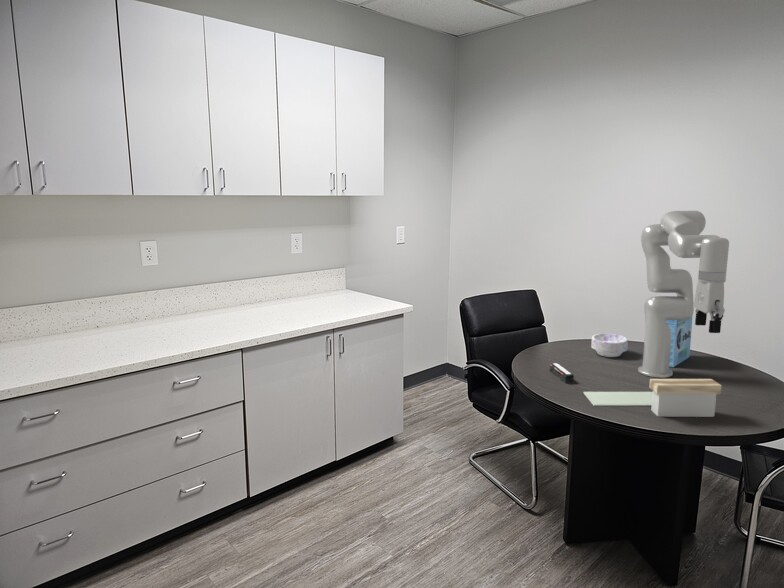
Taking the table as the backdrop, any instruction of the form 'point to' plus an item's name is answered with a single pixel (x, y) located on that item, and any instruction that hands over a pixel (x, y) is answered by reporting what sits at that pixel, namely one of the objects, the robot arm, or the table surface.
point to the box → (684, 405)
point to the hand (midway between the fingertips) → (707, 328)
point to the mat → (620, 398)
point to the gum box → (679, 340)
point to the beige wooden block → (685, 386)
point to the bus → (561, 373)
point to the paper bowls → (609, 344)
